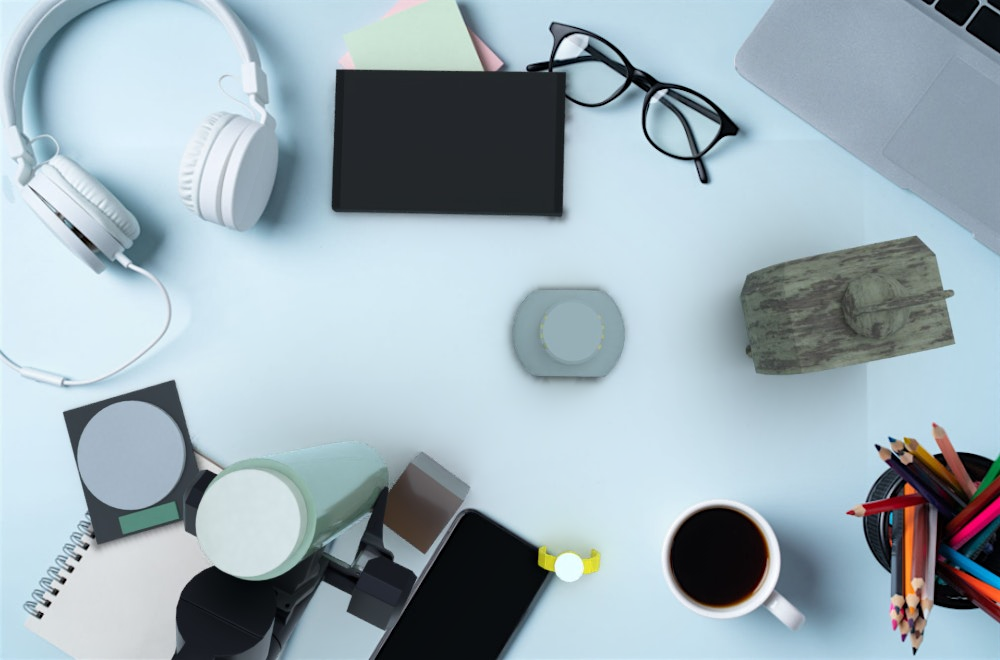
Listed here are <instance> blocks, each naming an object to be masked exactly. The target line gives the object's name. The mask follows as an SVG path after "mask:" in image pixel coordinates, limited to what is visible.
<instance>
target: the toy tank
mask: <svg viewBox="0 0 1000 660" xmlns="http://www.w3.org/2000/svg"><path fill="white" fill-rule="evenodd" d="M954 296H955V291H954V290H953V289H950V288H949V289H944V287H943V282H942V277H941V272H940V268H939V264H938V259H937V254H936V253H935V252H934V251H933V250H932V249H931V248H930V247H929V246H928V245H927V244H926V243H925V242H924V241H923V240H921V238H920V237H918V235H912V236H906V237H900V238H896V239H890V240H886V241H880V242H875V243H869V244H865V245H859V246H854V247H849V248H844V249H839V250H834V251H830V252H829V251H828V252H827V253H826V252H825V253H820V254H815V255H810V256H806V257H801V258H796V259H791V260H788V261H784V262H780V263H779V262H778V263H776V264H772V265H769V266H766V267H764V268H761V269H759V270H755V271H753V272H751V273H748V274H746V277H745V280H744V283H743V286H742V289H741V292H740V296H739V299H740V304H741V309H742V314H743V318H744V322H745V329H746V331H747V336H748V343H749V344H748V345H746V348H745V354H746V356H747V357H748V358H751V359H752V360H753V365H754V369H755V373H756V374H759V375H764V376H790V375H803V374H810V373H816V372H821V371H827V370H828V371H829V370H833V369H838V368H844V367H849V366H855V365H859V364H865V363H870V362H876V361H880V360H881V361H882V360H886V359H892V358H896V357H900V356H906V355H911V354H915V353H921V352H926V351H930V350H935V349H940V348H945V347H948V346H949V347H950V346H953V345H956V340H955V335H954V330H953V326H952V322H951V318H950V313H949V309H948V303H947V300H946V299H949V298H952V297H954Z"/></svg>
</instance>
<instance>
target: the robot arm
mask: <svg viewBox="0 0 1000 660" xmlns="http://www.w3.org/2000/svg"><path fill="white" fill-rule="evenodd" d="M217 475H218V473H215V472H214V471H212V470H210V469H201V470H200V469H199V473H198V474H197V475H196V477H195V478H194V479H193V480H192V481H191V483H190V484H189V485H188V487H187V489H186V491H185V493H184V495H183V520H182V522H183V527H184V532H185V533H188V534H190V535H191V536H194V537H196V538H197V534H196V515H197V510H198V507H199V504H200V502H201V500H202V497H203V495H204V493H205V491H206V489H207V487H208V486H209V484H210V483H211V482H212V481H213V479H214V478H215V477H216V476H217ZM389 491H390V487H389V486H388V487H387V486H385V487H384V488H383V490H382V491H381V493H380V495H379V496H378V499H377V501H376V504H375V506H374V509H373V511H372V513H371V514H370V516H369V519H368V522H367V524H366V527H365V529H364V531H363V534H362V536H361V538H360V541H359V543H358V546H357V550H356V553H355V556H354V559H353V560H352V563H350V564H349V563H348V562H345V561H343V560H342V559H339V558H338V557H335V556H333V555H331V554H329V553H328V552H325V549H326V548H327V545H328V544H326V545H325V546H323V547H322V548H320V549H319V550H317V551H316V552H315V553H313V554H312V555H310V556H309V557H307V558H306V559H304V560H303V561H302V562H300V563H299V564H297V565H296V566H294V567H293V568H291V569H290V570H289V571H287V572H285V573H283V574H282V575H279V576H277V577H274V578H271V579H267V580H259V581H257V580H245V579H241V578H237V577H234V576H232V575H230V574H228V573H226V572H223V571H222V570H220V569H219V568H217V567H216V566H215V565H211V566H209V567H207V568H204V569H203V570H201V571H199V572H198V573H197V574H195V575H194V576H193V577H192V578H191V579H190V580H188V582H186V584H185V585H184V587H183V588H182V590H181V592H180V595H179V598H178V601H177V604H176V607H175V609H176V610H175V650H174V653H173V656H172V657H171V658H170V660H277V659H278V657H279V655H280V654H281V652H282V650H283V649H284V647H285V645H286V644H287V642H288V640H289V638H290V637H291V636H292V633H293V632H294V630H295V628H296V627H297V625H298V623H299V622H300V620H301V619H302V617H303V615H304V613H305V611H306V610H307V608H308V607H309V604H310V602H312V599H313V598H314V596H315V594H316V592H317V591H318V589H319V587H320V586H321V585H322V582H324V583H326V584H328V585H329V586H331V587H333V588H336V589H338V590H340V591H341V592H344V593H346V594H348V595H350V600H349V602H348V606H347V608H346V612H345V613H348V614H350V615H351V616H354V617H356V618H358V619H360V620H361V621H364V622H366V623H368V624H370V625H371V626H374V627H376V628H378V629H379V630H382V631H387V630H390V629H393V628H395V627H396V624H397V623H398V620H399V618H400V616H401V614H402V612H403V610H404V608H405V606H406V604H407V601H408V599H409V597H410V595H411V593H412V592H413V589H414V586H415V584H416V582H417V579H418V575H416V574H415V572H414V571H413V570H411V569H409V568H408V567H406V566H404V565H402V564H400V563H398V562H396V561H394V560H395V554H394V553H393V552H392V551H391V550H389V549H387V548H386V547H385V543H384V524H383V522H384V516H385V510H386V504H387V498H388V492H389Z"/></svg>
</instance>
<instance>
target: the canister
mask: <svg viewBox="0 0 1000 660" xmlns="http://www.w3.org/2000/svg"><path fill="white" fill-rule="evenodd" d="M389 475H390V474H389V471H388V466H387V464H386V462H385V460H384V458H383V457H382V455H381V454H380V453H379V452H378V450H376V449H375V448H374V447H373V446H371V445H369V444H368V443H365V442H362V441H358V440H342V441H337V442H334V443H327V444H322V445H321V444H320V445H316V446H312V447H306V448H301V449H300V448H299V449H295V450H290V451H285V452H278V453H274V454H269V455H268V454H267V455H263V456H258V457H252V458H248V459H244V460H240V461H238V462H235V463H232V464H231V465H229V466H227V467H226V468H224V469H223V470H222V471H220V472H219V473H217V476H216V477H215V478H214V479H213V481H212V482H211V483H210V484H209V486H208V487H207V489H206V491H205V493H204V495H203V497H202V500H201V502H200V504H199V507H198V510H197V515H196V534H197V537H196V538H197V542H198V545H199V547H200V549H201V551H202V553H203V555H204V556H205V557H206V559H207V560H208V561H209V562H210V563H211V564H212V566H214V565H215V566H216V567H217V568H219V569H220V570H222V571H223V572H226V573H228V574H230V575H232V576H234V577H237V578H241V579H245V580H257V581H259V580H267V579H271V578H274V577H277V576H279V575H282V574H283V573H285V572H287V571H289V570H290V569H291V568H293V567H294V566H296V565H297V564H299V563H300V562H302V561H303V560H304V559H306V558H307V557H309V556H310V555H312V554H313V553H315V552H316V551H317V550H319V549H320V548H322V547H323V546H325V545H326V544H327V545H328V544H329V543H331V542H332V541H333V540H335V539H337V538H338V537H340V536H341V535H342V534H344V533H345V532H347V531H348V530H350V529H351V528H353V527H354V526H355V525H357V524H358V523H359V522H361V521H363V520H364V519H366V517H368V516H369V515H371V514H372V511H373V509H374V506H375V504H376V501H377V499H378V496H379V495H380V493H381V491H382V490H383V488H384V487H385V486H387V487H389V483H390V476H389ZM327 545H326V546H327Z"/></svg>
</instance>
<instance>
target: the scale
mask: <svg viewBox="0 0 1000 660" xmlns="http://www.w3.org/2000/svg"><path fill="white" fill-rule="evenodd" d="M177 387H178V386H177V383H176V380H175V379H171V380H167V381H164V382H161V383H158V384H154V385H151V386H147V387H143V388H141V389H137V390H134V391H130V392H126V393H123V394H120V395H116V396H112V397H109V398H106V399H103V400H99V401H96V402H95V401H94V402H92V403H88V404H86V405H82V406H79V407H75V408H72V409H68V410H64V411H62V414H63V419H64V422H65V423H64V424H65V425H66V430H67V434H68V437H69V442H70V446H71V450H72V453H73V457H74V461H75V464H76V469H77V473H78V476H79V480H80V485H81V487H82V488H81V489H82V491H83V495H84V499H85V504H86V507H87V510H88V515H89V518H90V521H91V525H92V529H93V533H94V538H95V541H96V545H101V544H105V543H108V542H112V541H115V540H119V539H122V538H126V537H129V536H133V535H136V534H140V533H143V532H147V531H151V530H155V529H157V528H161V527H164V526H168V525H171V524H175V523H179V522H183V495H184V493H185V491H186V489H187V487H188V485H189V484H190V483H191V481H192V480H193V479H194V478H195V477H196V475H197V474H198V473H199V472H200V469H199V466H198V462H197V459H196V458H197V457H196V453H195V451H194V447H193V443H192V440H191V436H190V433H189V428H188V425H187V421H186V417H185V413H184V409H183V406H182V403H181V402H182V401H181V397H180V394H179V391H178V388H177Z"/></svg>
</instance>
